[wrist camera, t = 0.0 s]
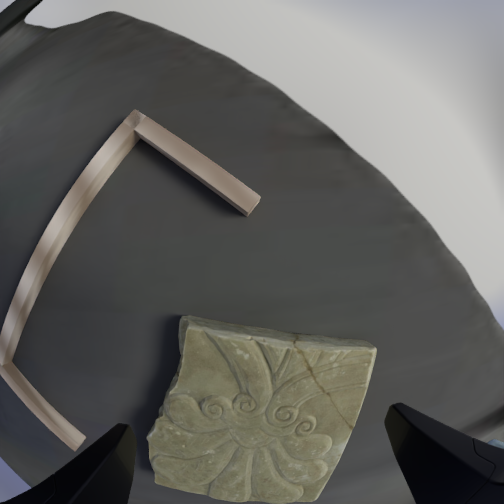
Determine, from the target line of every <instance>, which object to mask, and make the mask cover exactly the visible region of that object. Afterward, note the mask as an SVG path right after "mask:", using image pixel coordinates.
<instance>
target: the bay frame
mask: <svg viewBox="0 0 504 504" xmlns="http://www.w3.org/2000/svg"><path fill="white" fill-rule="evenodd" d="M140 139H142V140H144V141H145V142H147V143H148V144H149V145H151V146H152V147H154V148H155V149H156V150H158V151H159V152H160V153H162V154H163V155H165V156H166V157H167V158H169V159H170V160H172V161H173V162H174V163H176V164H177V165H178V166H180V167H181V168H182V169H184V170H185V171H187V172H188V173H189V174H191V175H192V176H193V177H195V178H196V179H197V180H199V181H200V182H201V183H203V184H204V185H206V186H207V187H208V188H210V189H211V190H212V191H214V192H215V193H216V194H218V195H219V196H220V197H222V198H223V199H224V200H226V201H227V202H228V203H230V204H231V205H232V206H234V207H235V208H236V209H237V210H239V211H240V212H241V213H243V214H244V215H245V216H247V217H248V215H249V214H250V213H251V212H252V210H253V209H254V208H255V207H256V205H257V204H258V203H259V200H260V198H261V197H260V196H259V195H258V194H256V193H255V192H254V191H252V190H251V189H250V188H248V187H247V186H246V185H244V184H243V183H242V182H240V181H239V180H238V179H236V178H235V177H233V176H232V175H231V174H229V173H228V172H227V171H225V170H224V169H222V168H221V167H220V166H218V165H217V164H215V163H214V162H213V161H211V160H210V159H208V158H207V157H206V156H204V155H203V154H201V153H200V152H198V151H197V150H196V149H194V148H193V147H191V146H190V145H188V144H187V143H185V142H184V141H183V140H181V139H180V138H178V137H177V136H175V135H174V134H172V133H171V132H169V131H168V130H166V129H165V128H163V127H162V126H160V125H159V124H157V123H156V122H154V121H153V120H151V119H150V118H148V117H147V116H145V115H143V114H142V113H140V112H139V111H137V110H136V109H134V110H133V111H132V113H131V114H130V115H129V116H128V117H127V118H126V119H125V120H124V121H123V122H122V124H121V125H120V126H119V127H118V128H117V129H116V130H115V132H114V133H113V134H112V135H111V136H110V137H109V139H108V140H107V141H106V142H105V144H104V145H103V146H102V147H101V148H100V150H99V151H98V152H97V154H96V155H95V156H94V157H93V159H92V160H91V161H90V163H89V164H88V165H87V167H86V168H85V169H84V171H83V172H82V174H81V175H80V176H79V178H78V179H77V181H76V182H75V184H74V185H73V186H72V188H71V189H70V191H69V192H68V194H67V195H66V197H65V199H64V200H63V202H62V203H61V205H60V206H59V208H58V210H57V211H56V213H55V215H54V216H53V218H52V220H51V221H50V223H49V225H48V227H47V228H46V230H45V232H44V234H43V236H42V237H41V239H40V241H39V243H38V245H37V247H36V249H35V251H34V253H33V255H32V257H31V259H30V261H29V263H28V265H27V267H26V269H25V272H24V274H23V276H22V278H21V281H20V283H19V285H18V288H17V290H16V292H15V295H14V297H13V300H12V303H11V305H10V308H9V311H8V313H7V316H6V319H5V322H4V325H3V328H2V331H1V334H0V374H1V376H2V377H3V378H4V380H5V381H6V382H7V383H8V385H9V386H10V387H11V388H12V390H13V391H14V392H15V393H16V394H17V395H18V397H19V398H20V399H21V400H22V401H23V402H24V403H25V404H26V406H27V407H28V408H29V409H30V410H31V411H32V412H33V413H34V414H35V415H36V416H37V417H38V418H39V419H40V420H41V421H42V422H43V423H44V424H45V425H46V426H47V427H48V428H49V429H50V430H51V431H52V432H53V433H54V434H55V435H57V436H58V437H59V438H60V439H61V440H62V441H63V442H64V443H66V444H67V445H68V446H69V447H70V448H72V449H73V450H74V451H76V450H77V449H78V448H79V446H80V445H81V444H82V443H83V441H84V440H85V438H86V436H84V435H83V434H82V433H81V432H80V431H78V430H77V429H76V428H75V427H74V426H73V425H71V424H70V423H69V422H68V421H67V420H66V419H65V418H64V417H63V416H61V415H60V414H59V413H58V412H57V411H56V410H55V409H54V408H53V407H52V406H51V405H50V404H49V403H48V402H47V401H46V400H45V399H44V398H43V397H42V396H41V395H40V394H39V393H38V392H37V390H36V389H35V388H34V387H33V386H32V385H31V384H30V383H29V382H28V380H27V379H26V378H25V377H24V376H23V375H22V373H21V372H20V371H19V370H18V369H17V367H16V366H15V365H14V364H13V362H12V359H13V356H14V353H15V350H16V347H17V344H18V341H19V339H20V336H21V333H22V331H23V328H24V326H25V323H26V321H27V318H28V316H29V313H30V311H31V309H32V307H33V304H34V302H35V300H36V298H37V296H38V293H39V291H40V289H41V287H42V285H43V283H44V281H45V279H46V277H47V275H48V273H49V271H50V269H51V267H52V265H53V264H54V262H55V260H56V258H57V256H58V254H59V253H60V251H61V249H62V247H63V246H64V244H65V242H66V241H67V239H68V237H69V236H70V234H71V232H72V231H73V229H74V227H75V226H76V224H77V223H78V221H79V220H80V218H81V216H82V215H83V213H84V212H85V210H86V209H87V207H88V206H89V204H90V203H91V202H92V200H93V199H94V197H95V196H96V194H97V193H98V192H99V190H100V189H101V187H102V186H103V185H104V183H105V182H106V181H107V179H108V178H109V177H110V175H111V174H112V173H113V171H114V170H115V169H116V168H117V166H118V165H119V164H120V162H121V161H122V160H123V159H124V158H125V156H126V155H127V154H128V153H129V151H130V150H131V149H132V148H133V147H134V146H135V144H136V143H137V142H138V141H139V140H140Z"/></svg>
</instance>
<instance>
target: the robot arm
mask: <svg viewBox="0 0 504 504" xmlns="http://www.w3.org/2000/svg"><path fill="white" fill-rule="evenodd" d="M384 423H385V428H386V431H387V434H388V437H389V440H390V443H391V446H392V449H393V452H394V455H395V457H396V460H397V462H398V464H399V466H400V469H401V471H402V473H403V475H404V477H405V480H406V482H407V484H408V486H409V488H410V491H411V493H412V495H413V497H414V500H415V502H416V504H504V449H503V448H500V447H497V446H493V445H490V444H488V443H485V442H483V441H480V440H478V439H476V438H472V437H471V436H469V435H466V434H464V433H462V432H460V431H458V430H456V429H453V428H451V427H449V426H447V425H445V424H443V423H441V422H439V421H437V420H435V419H433V418H431V417H429V416H427V415H425V414H423V413H421V412H419V411H417V410H415V409H413V408H411V407H409V406H407V405H405V404H403V403H396V404H393V405H391V406H390V407H389V410H388V412H387V415H386V418H385V422H384ZM136 448H137V440H136V437H135V435H134V433H133V431H132V428H131V427H130V425H128V424H122V423H118V424H116V425H115V426H114V427H113V428H112V429H110V430H109V431H108V432H107V433H105V434H104V435H103V436H102V437H100V438H99V439H98V440H97V441H95V442H94V443H93V444H92V445H90V446H89V447H88V448H87V449H85V450H84V451H83V452H81V453H80V454H79V455H78V456H76V457H75V458H74V459H72V460H71V461H70V462H68V463H67V464H66V465H65V466H63V467H62V468H61V469H59V470H58V471H57V472H55V473H54V474H52V475H51V476H50V477H48V478H47V479H45V480H44V481H42V482H41V483H40V484H38V485H36V486H35V487H33V488H31V489H29V490H28V491H26V492H24V493H22V494H20V495H18V496H16V497H14V498H12V499H10V500H7V501H5V502H1V503H0V504H127V503H128V499H129V494H130V490H131V486H132V481H133V475H134V465H135V456H136Z"/></svg>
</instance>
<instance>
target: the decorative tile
mask: <svg viewBox="0 0 504 504" xmlns="http://www.w3.org/2000/svg"><path fill="white" fill-rule="evenodd" d="M178 338H179V349H180V354H181V358H180V364H179V366H178V369H177V372H176V374H175V376H174V377H173V380H172V381H171V384H170V387H169V389H168V390H167V392H166V396H165V399H164V404H163V405H162V406H161V407H160V409H159V416H158V418H157V419H156V420H155V423H154V425H153V426H152V427H151V430H150V431H149V432H148V435H147V437H146V438H147V440H148V442H149V459H150V462H151V465H152V468H153V470H154V472H155V480H154V482H155V483H156V484H160V485H163V486H166V487H170V488H174V489H178V490H182V491H186V492H192V493H198V494H204V495H208V496H210V497H212V498H215V499H220V500H226V501H232V502H245V501H264V502H268V503H277V504H284V503H291V502H294V501H298V502H312V501H315V500H316V499H317V498H318V496H319V495H320V493H321V492H322V490H323V488H324V487H325V485H326V483H327V481H328V480H329V478H330V476H331V474H332V472H333V471H334V469H335V467H336V465H337V463H338V461H339V459H340V457H341V455H342V453H343V451H344V448H345V446H346V444H347V442H348V439H349V437H350V434H351V432H352V429H353V428H354V426H355V423H356V421H357V418H358V415H359V412H360V409H361V406H362V403H363V400H364V397H365V394H366V391H367V388H368V385H369V381H370V377H371V373H372V369H373V365H374V362H375V358H376V353H377V349H376V348H375V347H374V346H373V345H371V344H370V343H369V342H367V341H365V340H356V339H345V338H333V337H326V336H317V335H308V334H299V333H298V334H295V333H289V332H283V331H276V330H271V329H266V328H260V327H253V326H245V325H239V324H232V323H227V322H222V321H217V320H211V319H206V318H200V317H195V316H190V315H188V316H182V317H181V319H180V323H179V334H178Z"/></svg>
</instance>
